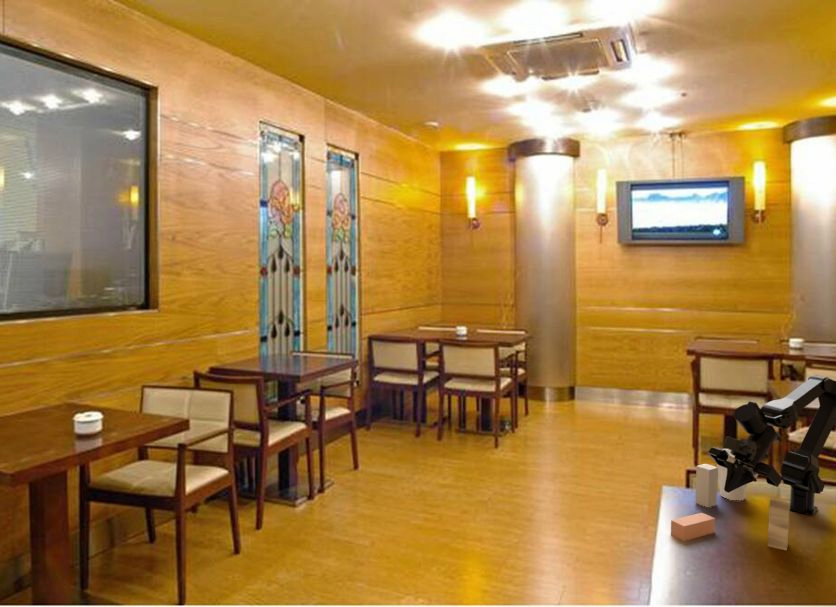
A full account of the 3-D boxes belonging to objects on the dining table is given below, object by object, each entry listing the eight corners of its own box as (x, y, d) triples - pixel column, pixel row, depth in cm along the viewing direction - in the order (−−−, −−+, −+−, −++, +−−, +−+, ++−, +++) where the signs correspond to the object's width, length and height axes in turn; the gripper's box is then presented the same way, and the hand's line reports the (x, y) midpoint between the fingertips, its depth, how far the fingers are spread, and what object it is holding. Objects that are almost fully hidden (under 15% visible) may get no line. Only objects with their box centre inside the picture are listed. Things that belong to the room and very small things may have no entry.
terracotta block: (701, 512, 164) (671, 520, 159) (714, 518, 160) (684, 526, 156) (701, 527, 164) (670, 535, 160) (714, 533, 161) (683, 541, 156)
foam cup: (754, 504, 179) (756, 459, 178) (719, 502, 181) (721, 457, 180) (744, 492, 188) (745, 449, 187) (711, 489, 190) (712, 447, 189)
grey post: (704, 500, 182) (705, 463, 181) (716, 505, 178) (718, 467, 177) (695, 503, 180) (696, 465, 179) (708, 508, 176) (709, 469, 175)
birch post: (769, 540, 156) (771, 497, 156) (787, 544, 154) (789, 500, 153) (767, 546, 153) (769, 502, 152) (786, 550, 151) (788, 506, 150)
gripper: (713, 417, 173) (682, 462, 169) (775, 435, 155) (741, 485, 152) (733, 441, 176) (703, 486, 173) (795, 461, 159) (763, 511, 156)
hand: (726, 491), depth 163 cm, fingers closed
